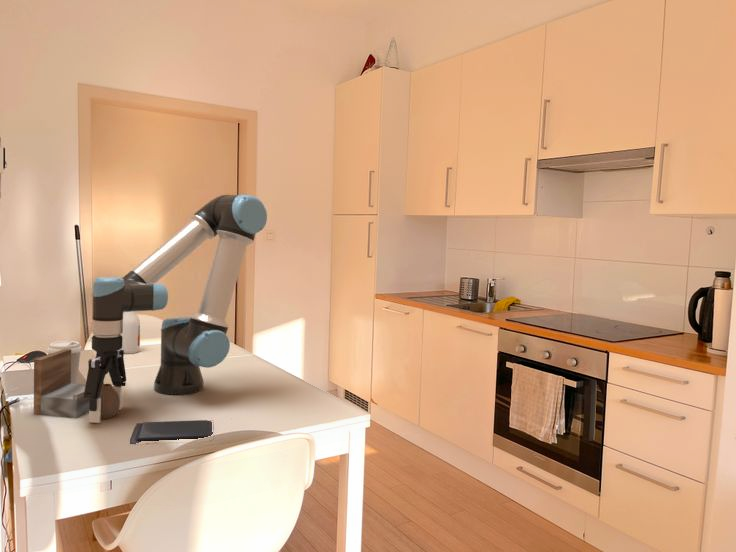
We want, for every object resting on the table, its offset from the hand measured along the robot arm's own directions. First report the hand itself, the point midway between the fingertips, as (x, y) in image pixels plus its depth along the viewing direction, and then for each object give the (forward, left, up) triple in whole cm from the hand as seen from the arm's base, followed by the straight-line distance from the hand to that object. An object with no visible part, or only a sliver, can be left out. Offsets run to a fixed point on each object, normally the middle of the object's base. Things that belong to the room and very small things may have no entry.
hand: (105, 415), depth 155 cm
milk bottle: (+30, -72, 0) cm, 78 cm away
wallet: (-22, +7, -1) cm, 23 cm away
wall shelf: (+11, -4, 0) cm, 12 cm away
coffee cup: (+22, -17, 0) cm, 28 cm away
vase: (0, 0, 0) cm, 0 cm away
